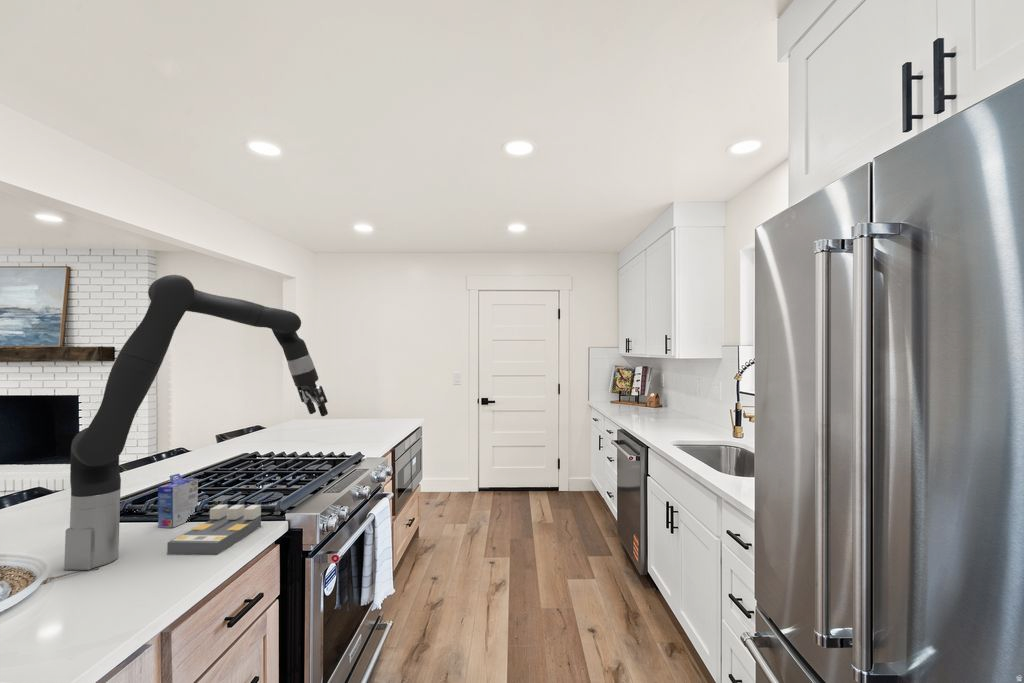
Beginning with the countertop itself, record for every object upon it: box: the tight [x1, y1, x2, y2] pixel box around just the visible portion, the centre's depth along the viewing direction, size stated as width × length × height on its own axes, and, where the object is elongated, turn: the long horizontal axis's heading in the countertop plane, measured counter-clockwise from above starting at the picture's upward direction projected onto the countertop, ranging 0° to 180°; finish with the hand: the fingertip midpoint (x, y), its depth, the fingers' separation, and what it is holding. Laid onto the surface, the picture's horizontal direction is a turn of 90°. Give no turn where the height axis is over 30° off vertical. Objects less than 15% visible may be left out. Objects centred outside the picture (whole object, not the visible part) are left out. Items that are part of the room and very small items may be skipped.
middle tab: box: [227, 504, 246, 520], centre depth 137 cm, size 4×3×3 cm
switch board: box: [166, 515, 262, 556], centre depth 129 cm, size 20×14×3 cm
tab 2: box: [243, 504, 262, 520], centre depth 137 cm, size 4×3×3 cm
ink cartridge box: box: [157, 473, 199, 529], centre depth 143 cm, size 10×6×14 cm, turn 174°
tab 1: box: [209, 504, 229, 520], centre depth 138 cm, size 4×3×3 cm
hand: (318, 414), depth 158 cm, fingers open, 8 cm apart
